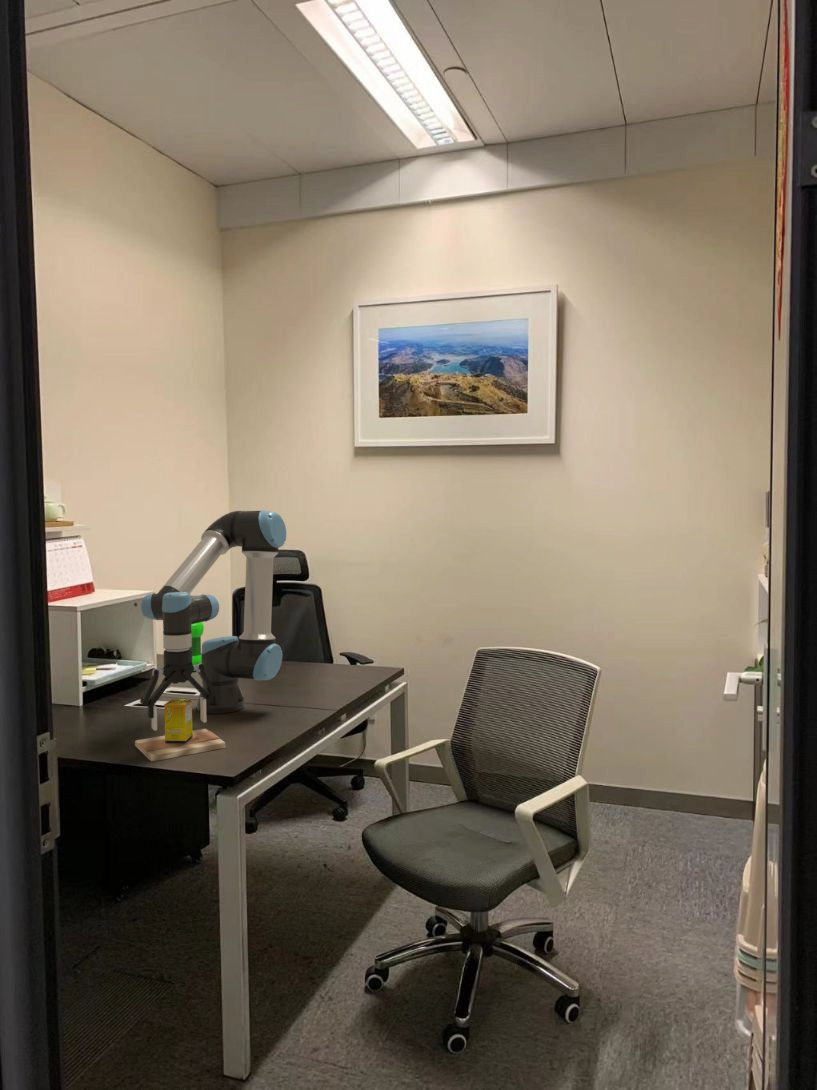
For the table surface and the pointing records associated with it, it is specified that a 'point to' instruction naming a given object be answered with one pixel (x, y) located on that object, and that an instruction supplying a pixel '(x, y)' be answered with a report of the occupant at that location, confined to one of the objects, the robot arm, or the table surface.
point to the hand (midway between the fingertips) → (179, 725)
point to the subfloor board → (179, 745)
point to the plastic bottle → (196, 642)
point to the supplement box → (178, 720)
